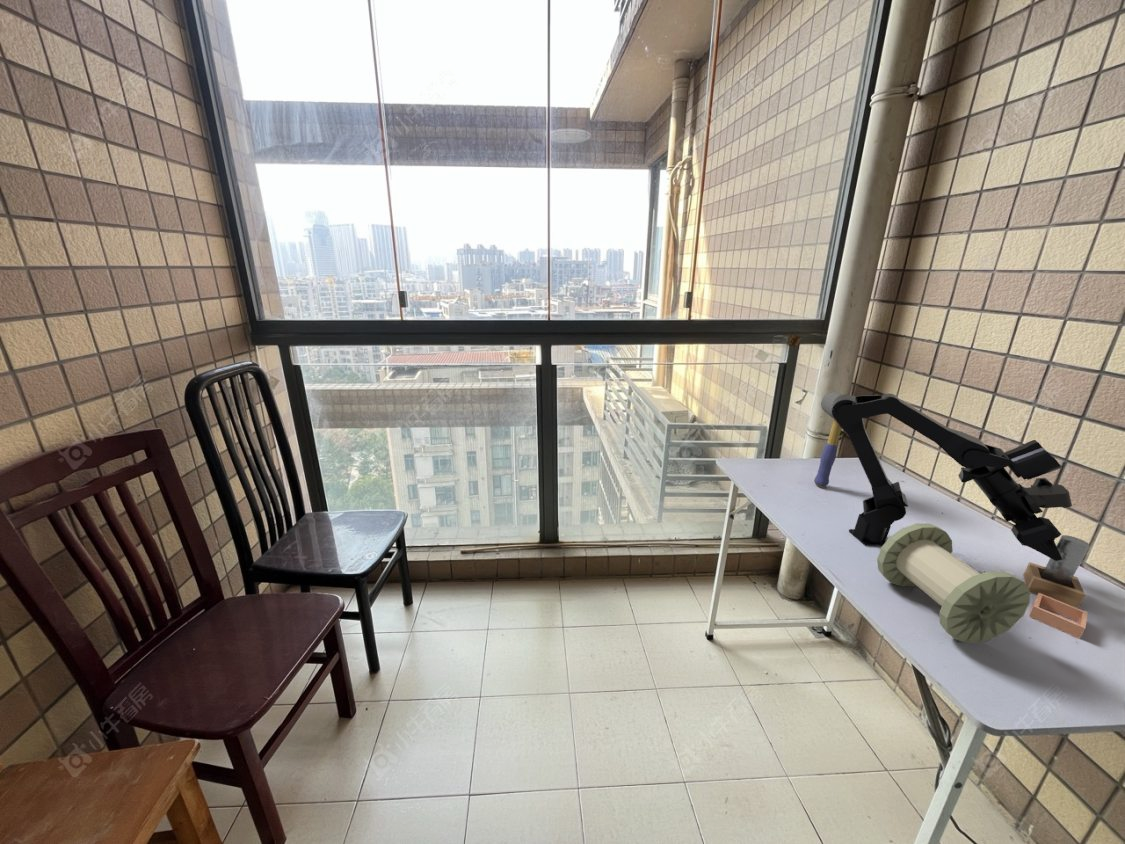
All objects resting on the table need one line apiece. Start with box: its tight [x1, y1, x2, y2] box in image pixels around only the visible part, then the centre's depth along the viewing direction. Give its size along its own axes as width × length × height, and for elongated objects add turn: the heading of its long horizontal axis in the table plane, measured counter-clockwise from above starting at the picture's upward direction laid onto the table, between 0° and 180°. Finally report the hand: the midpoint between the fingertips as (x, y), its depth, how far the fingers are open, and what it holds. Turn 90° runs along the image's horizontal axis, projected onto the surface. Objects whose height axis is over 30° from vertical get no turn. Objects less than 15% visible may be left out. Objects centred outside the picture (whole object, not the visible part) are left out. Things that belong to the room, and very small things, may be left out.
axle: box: [1041, 534, 1091, 587], centre depth 92 cm, size 4×4×13 cm
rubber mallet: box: [813, 391, 844, 488], centre depth 132 cm, size 12×8×30 cm, turn 174°
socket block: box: [1028, 593, 1089, 639], centre depth 85 cm, size 7×7×2 cm
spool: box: [876, 522, 1031, 644], centre depth 85 cm, size 16×15×15 cm
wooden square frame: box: [1022, 561, 1086, 609], centre depth 93 cm, size 7×7×4 cm
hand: (1050, 548), depth 92 cm, fingers open, 9 cm apart
